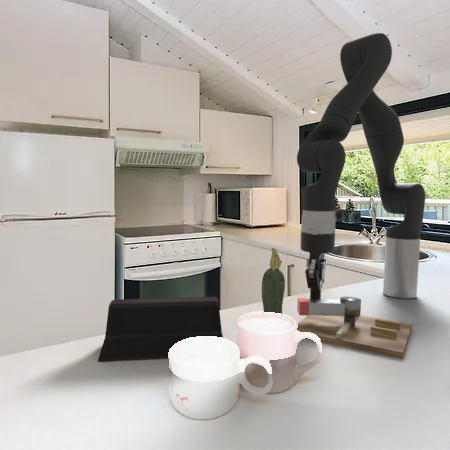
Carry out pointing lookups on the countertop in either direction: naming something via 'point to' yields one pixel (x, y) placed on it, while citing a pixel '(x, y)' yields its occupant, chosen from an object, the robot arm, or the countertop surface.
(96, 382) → the countertop surface
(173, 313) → the barrier
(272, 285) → the vegetable
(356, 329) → the door board
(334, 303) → the bar
